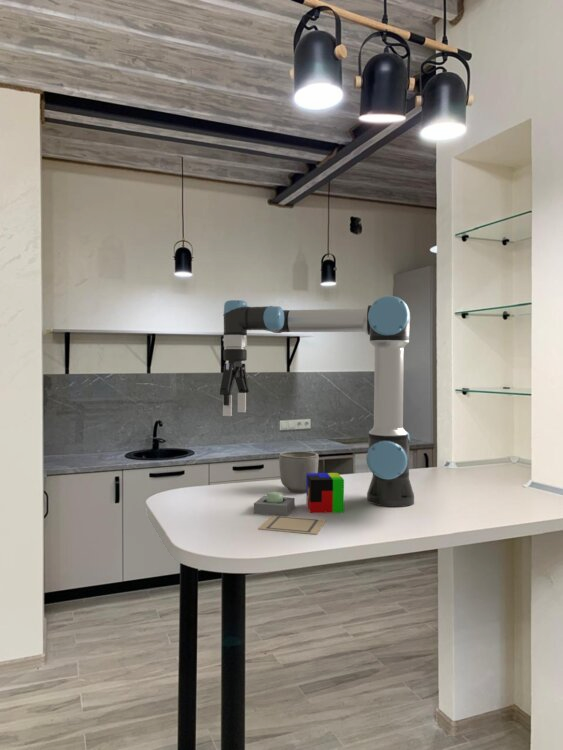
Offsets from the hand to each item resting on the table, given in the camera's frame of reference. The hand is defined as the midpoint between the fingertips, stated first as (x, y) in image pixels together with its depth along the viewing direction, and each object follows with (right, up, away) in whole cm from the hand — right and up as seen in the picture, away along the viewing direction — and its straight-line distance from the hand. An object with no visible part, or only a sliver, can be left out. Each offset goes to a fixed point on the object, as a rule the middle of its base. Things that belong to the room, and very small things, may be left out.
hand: (234, 414), depth 178 cm
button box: (+13, -28, -12) cm, 33 cm away
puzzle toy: (+28, -29, -9) cm, 41 cm away
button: (+13, -27, -12) cm, 32 cm away
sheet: (+18, -29, -27) cm, 43 cm away
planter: (+21, -28, +14) cm, 38 cm away
